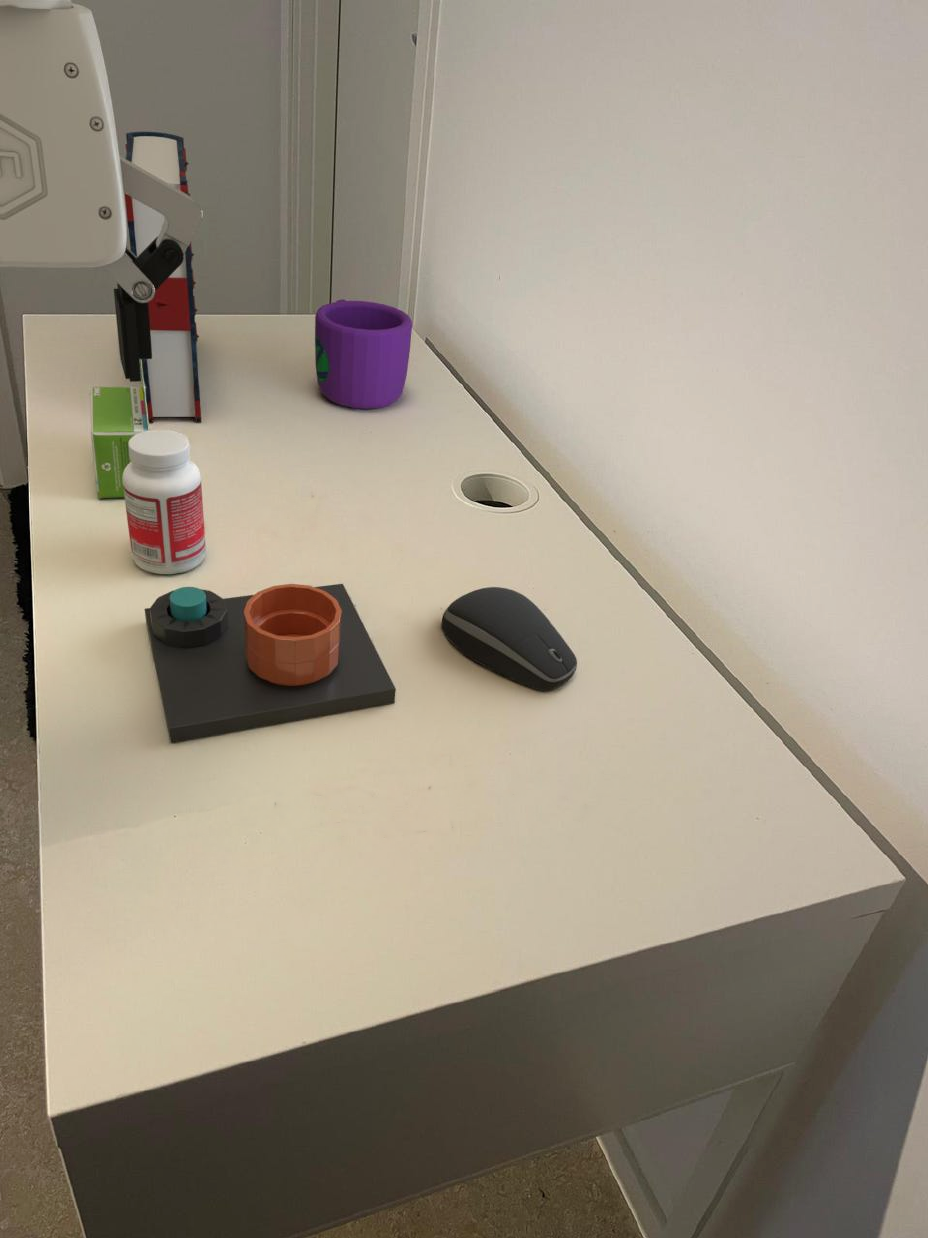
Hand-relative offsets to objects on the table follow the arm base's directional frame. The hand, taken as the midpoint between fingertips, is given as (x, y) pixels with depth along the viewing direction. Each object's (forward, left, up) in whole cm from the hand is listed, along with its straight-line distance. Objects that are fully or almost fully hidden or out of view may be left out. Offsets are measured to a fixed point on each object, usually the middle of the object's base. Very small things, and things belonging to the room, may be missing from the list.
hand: (28, 373), depth 45 cm
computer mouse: (+32, +3, -26) cm, 41 cm away
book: (+14, +61, -26) cm, 68 cm away
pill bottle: (+8, +22, -26) cm, 35 cm away
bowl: (+14, +4, -24) cm, 29 cm away
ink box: (+6, +38, -26) cm, 46 cm away
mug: (+35, +57, -26) cm, 72 cm away
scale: (+13, +6, -26) cm, 29 cm away
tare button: (+8, +10, -23) cm, 26 cm away
